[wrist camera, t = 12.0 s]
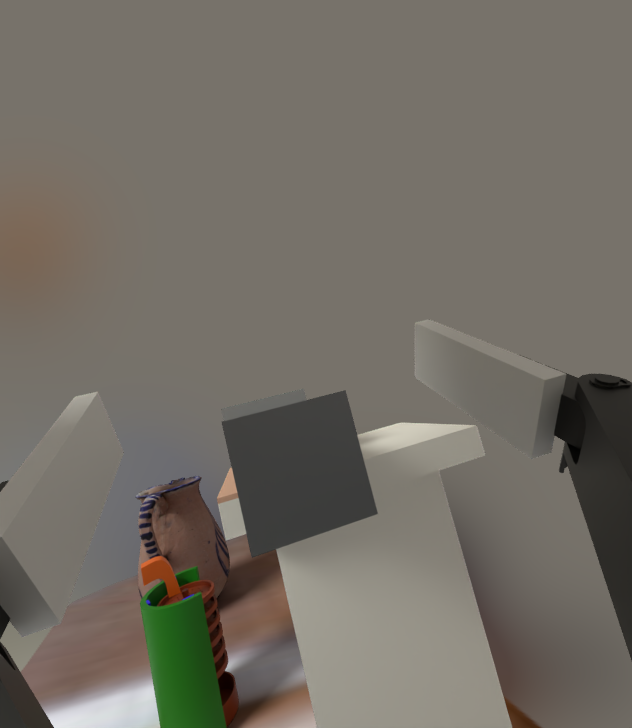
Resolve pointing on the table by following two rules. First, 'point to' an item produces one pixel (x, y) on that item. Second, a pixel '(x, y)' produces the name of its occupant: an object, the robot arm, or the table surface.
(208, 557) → the ceramic pitcher
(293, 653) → the table surface
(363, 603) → the stand
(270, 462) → the bar
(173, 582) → the motor
